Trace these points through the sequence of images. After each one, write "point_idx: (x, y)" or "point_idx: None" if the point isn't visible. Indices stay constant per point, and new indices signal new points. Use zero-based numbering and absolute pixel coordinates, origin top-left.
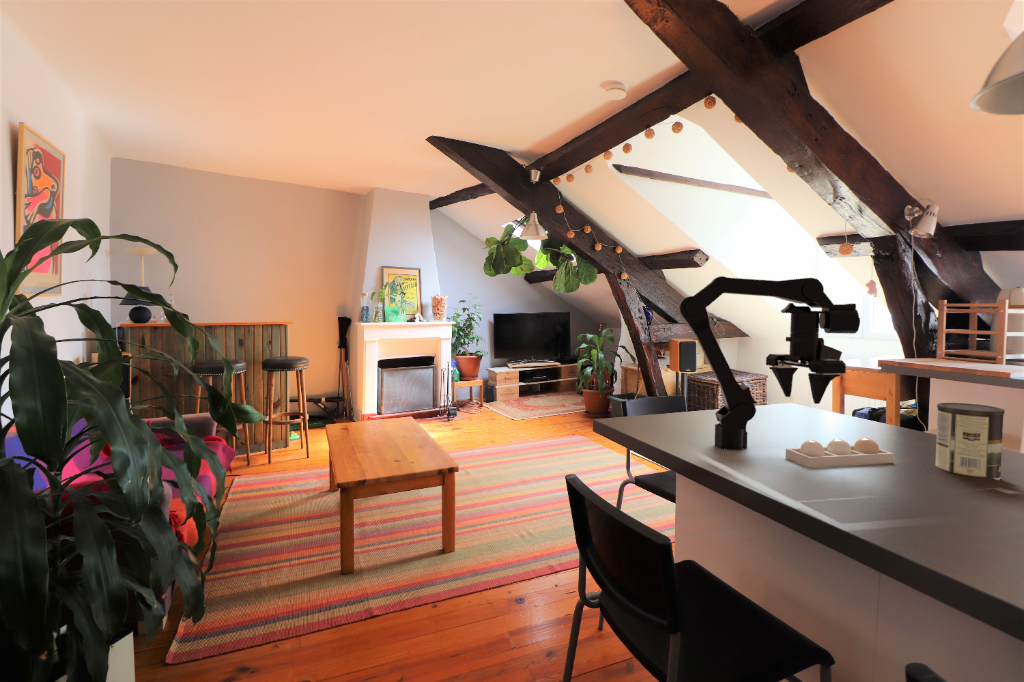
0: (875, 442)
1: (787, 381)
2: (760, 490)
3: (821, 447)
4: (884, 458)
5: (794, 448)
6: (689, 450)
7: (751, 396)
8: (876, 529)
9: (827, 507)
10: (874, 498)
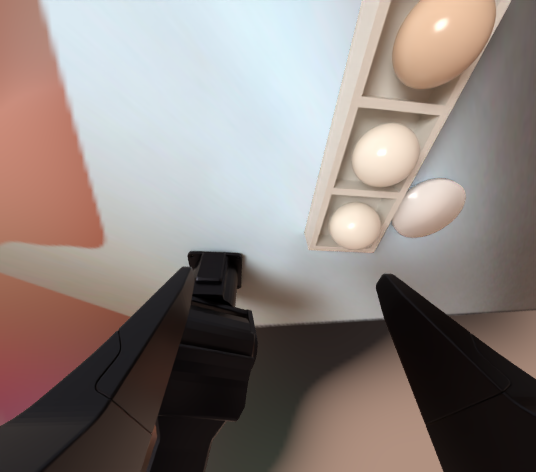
0: (495, 16)
1: (156, 364)
2: (371, 315)
3: (380, 229)
4: None
5: (314, 235)
6: None
7: (247, 385)
8: (495, 295)
9: (441, 296)
10: (480, 239)
